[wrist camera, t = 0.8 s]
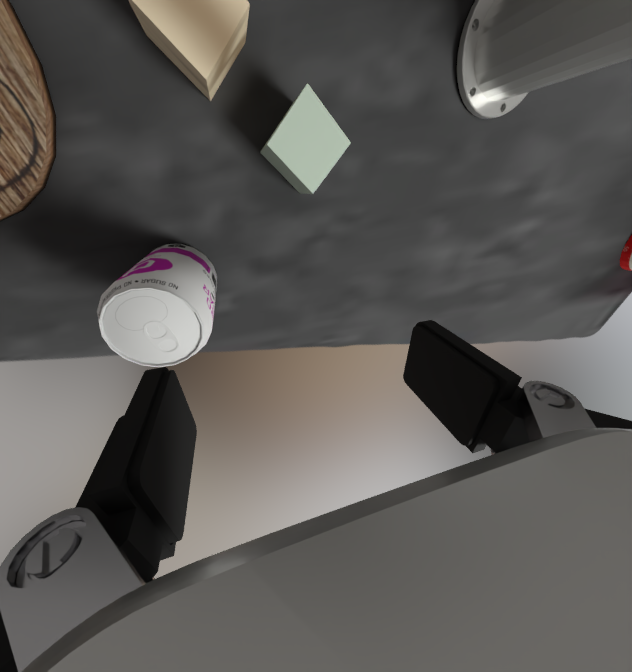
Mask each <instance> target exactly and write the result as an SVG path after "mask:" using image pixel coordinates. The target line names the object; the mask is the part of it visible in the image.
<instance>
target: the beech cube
mask: <svg viewBox="0 0 632 672" xmlns="http://www.w3.org/2000/svg"><path fill="white" fill-rule="evenodd" d="M128 1H129V3H130V5H131V7H132V9H133V11H134V12H135V14H136V16H137V18H138V20H139V22H140V24H141V26H142V28H143V30H144V31H145V33H146V35H147V36H148V37H149V38H150V39H151V40H152V41H153V42H154V44H155V45H156V46H157V47H158V48H159V49H160V50H161V51H162V52H163V53H164V54H165V55H166V56H167V57H168V58H169V59H170V60H171V61H172V62H173V63H174V64H175V65H176V66H177V67H178V68H179V69H180V70H181V71H182V72H183V73H184V74H185V75H186V77H187V78H188V79H189V80H190V81H191V82H192V83H193V84H194V85H195V86H196V87H197V88H198V89H199V90H200V91H201V92H202V93H203V94H204V95H205V96H206V97H207V98H208V99H209V100H210V101H211V100H212V98H213V96H214V95H215V93H216V91H217V89H218V88H219V86H220V84H221V83H222V81H223V79H224V78H225V76H226V74H227V72H228V71H229V69H230V67H231V66H232V64H233V62H234V61H235V59H236V57H237V56H238V54H239V52H240V50H241V49H242V47H243V45H244V44H245V40H246V32H247V23H248V15H249V6H250V4H249V2H248V1H247V0H128Z"/></svg>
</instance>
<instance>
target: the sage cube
mask: <svg viewBox="0 0 632 672" xmlns="http://www.w3.org/2000/svg"><path fill="white" fill-rule="evenodd" d="M350 143H351V142H350V141H349V140H348V138H347V137H346V135H345V134H344V133H343V131H342V130H341V129H340V127H339V126H338V124H337V123H336V122H335V120H334V119H333V118H332V116H331V115H330V114H329V112H328V111H327V109H326V108H325V107H324V105H323V104H322V103H321V101H320V100H319V98H318V97H317V96H316V94H315V93H314V92H313V90H312V89H311V87H310V86H309V85H308V83H307V85H306V86H305V87H304V89H303V90H302V92H301V93H300V94H299V96H298V97H297V98H296V100H295V101H294V102H293V104H292V105H291V107H290V108H289V110H288V111H287V113H286V114H285V116H284V117H283V119H282V120H281V122H280V123H279V125H278V126H277V128H276V129H275V131H274V132H273V134H272V135H271V137H270V138H269V140H268V141H267V143H266V144H265V146H264V147H263V149H262V150H261V152H260V153H261V154H262V155H263V156H264V157H265V158H266V159H267V160H268V161H269V162H270V163H271V164H272V165H273V166H274V167H275V168H276V169H277V170H278V171H279V172H280V173H281V175H282V176H283V177H284V178H285V179H286V180H287V181H288V182H289V183H290V184H291V185H292V186H293V187H294V188H295V189H296V190H297V191H298V192H299V193H304V194H313V193H314V192H315V191H316V189H317V188H318V186H319V185H320V184H321V182H322V181H323V180H324V178H325V177H326V176H327V174H328V173H329V172H330V170H331V169H332V168H333V166H334V165H335V164H336V162H337V161H338V160H339V158H340V157H341V155H342V154H343V153H344V151H345V150H346V149H347V147H348V146H349V145H350Z"/></svg>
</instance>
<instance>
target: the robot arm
mask: <svg viewBox="0 0 632 672" xmlns="http://www.w3.org/2000/svg"><path fill="white" fill-rule="evenodd" d="M631 58H632V0H475V2H474V4H473V5H472V7H471V10H470V12H469V14H468V17H467V19H466V22H465V25H464V28H463V31H462V35H461V39H460V44H459V50H458V58H457V81H458V86H459V92H460V95H461V98H462V100H463V103H464V104H465V106H466V108H467V109H468V110H469V111H470V112H471V113H472V114H473V115H474V116H476V117H478V118H482V119H491V118H495V117H499V116H502V115H504V114H506V113H508V112H509V111H511V110H512V109H513V108H514V107H516V106H517V105H518V104H519V103H520V102H521V101H522V100H523V98H524V97H525V96H526V95H527V93H528V92H530V91H533V90H536V89H539V88H542V87H545V86H548V85H551V84H554V83H557V82H561V81H564V80H567V79H570V78H573V77H576V76H579V75H582V74H585V73H588V72H591V71H594V70H598V69H601V68H604V67H607V66H610V65H613V64H616V63H619V62H622V61H625V60H628V59H631ZM403 378H404V381H405V383H406V384H407V385H408V386H409V387H410V389H411V390H412V391H413V392H414V393H415V394H416V395H417V396H418V397H419V398H420V400H421V401H422V402H424V404H425V405H426V406H427V407H428V408H429V409H430V410H431V411H432V413H433V414H434V415H435V416H436V417H437V418H438V419H439V420H440V421H441V423H442V424H443V425H444V426H445V427H446V428H447V429H448V430H449V431H450V432H451V434H453V436H454V437H455V438H456V439H457V440H458V441H459V442H460V443H461V444H462V445H465V446H466V447H467V448H468V449H469V450H470V451H471V452H472V453H475V452H478V451H480V450H484V449H485V447H486V445H488V446H489V447H490V448H491V454H492V455H491V456H488V457H485V458H482V459H479V460H476V461H474V462H470V463H468V464H465V465H462V466H459V467H456V468H453V469H450V470H447V471H445V472H442V473H439V474H436V475H433V476H430V477H428V478H425V479H422V480H419V481H416V482H414V483H410V484H408V485H405V486H402V487H399V488H396V489H394V490H391V491H388V492H385V493H382V494H380V495H377V496H374V497H371V498H368V499H365V500H363V501H360V502H357V503H354V504H351V505H348V506H346V507H343V508H340V509H337V510H335V511H332V512H329V513H326V514H323V515H321V516H318V517H315V518H312V519H310V520H307V521H304V522H301V523H298V524H296V525H293V526H290V527H287V528H284V529H282V530H279V531H276V532H273V533H270V534H268V535H265V536H263V537H260V538H257V539H255V540H252V541H249V542H246V543H244V544H241V545H238V546H236V547H233V548H231V549H228V550H226V551H223V552H220V553H217V554H215V555H212V556H209V557H207V558H204V559H202V560H199V561H196V562H194V563H192V564H189V565H187V566H185V567H182V568H180V569H178V570H175V571H173V572H171V573H168V574H166V575H164V576H162V577H159V578H157V579H155V578H154V576H155V574H156V573H157V572H158V567H159V562H160V560H163V559H166V558H169V557H172V556H174V551H175V545H176V542H177V541H180V540H181V539H182V536H183V532H184V525H185V516H186V510H187V501H188V495H189V487H190V479H191V472H192V464H193V457H194V449H195V441H196V432H197V430H196V424H195V421H194V419H193V416H192V414H191V411H190V409H189V406H188V404H187V401H186V398H185V396H184V393H183V391H182V388H181V386H180V383H179V381H178V379H177V376H176V373H175V371H174V370H170V371H169V370H168V369H167V368H166V367H162V368H157V369H151V370H146V371H145V372H144V374H143V376H142V379H141V381H140V383H139V385H138V387H137V389H136V391H135V394H134V396H133V398H132V400H131V403H130V405H129V407H128V409H127V411H126V413H125V415H124V416H122V417H121V418H119V419H118V421H117V422H116V424H115V426H114V429H113V431H112V433H111V435H110V437H109V439H108V441H107V443H106V445H105V447H104V449H103V451H102V453H101V456H100V458H99V460H98V462H97V464H96V466H95V468H94V470H93V472H92V474H91V476H90V479H89V481H88V482H87V485H86V487H85V489H84V491H83V493H82V495H81V497H80V499H79V501H78V503H77V505H76V507H75V508H71V509H66V510H64V511H62V512H59V513H57V514H55V515H53V516H51V517H49V518H48V519H46V520H44V521H43V522H41V523H40V524H38V525H37V526H36V527H35V528H33V529H32V530H31V531H30V532H29V533H27V534H26V535H25V536H24V537H23V538H22V539H21V540H20V541H19V542H18V543H17V544H16V545H15V547H13V549H12V550H11V551H10V552H9V554H8V555H7V557H6V558H5V560H4V561H3V563H2V564H1V566H0V672H632V421H629V420H625V419H621V418H618V417H614V416H610V415H606V414H603V413H599V412H595V411H591V410H587V409H584V408H583V406H582V404H581V403H580V401H579V400H578V399H577V398H576V397H575V396H573V395H572V394H571V393H570V392H568V391H566V390H564V389H563V388H561V387H558V386H556V385H553V384H550V383H546V382H541V381H529V382H527V383H525V385H524V386H523V388H520V387H519V386H518V384H519V382H520V380H521V378H522V377H520V376H519V375H517V374H515V373H514V372H512V371H511V370H509V369H508V368H506V367H505V366H503V365H501V364H500V363H498V362H497V361H495V360H494V359H492V358H491V357H489V356H487V355H486V354H484V353H483V352H481V351H480V350H478V349H476V348H475V347H473V346H472V345H470V344H469V343H467V342H466V341H464V340H463V339H461V338H459V337H458V336H456V335H455V334H453V333H452V332H450V331H449V330H447V329H445V328H444V327H442V326H441V325H439V324H438V323H436V322H435V321H432V320H429V321H423V322H419V323H417V324H416V326H415V327H414V328H413V331H412V336H411V341H410V346H409V351H408V356H407V361H406V365H405V370H404V375H403Z"/></svg>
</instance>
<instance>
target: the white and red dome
mask: <svg viewBox="0 0 632 672" xmlns="http://www.w3.org/2000/svg"><path fill="white" fill-rule="evenodd" d="M620 266H621V267H622V269H625V270H630V271H632V235H631V236H630V238H629V240H628V241H627V243H626V244H625V247H624V249H623V251H622V254H621V258H620Z"/></svg>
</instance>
